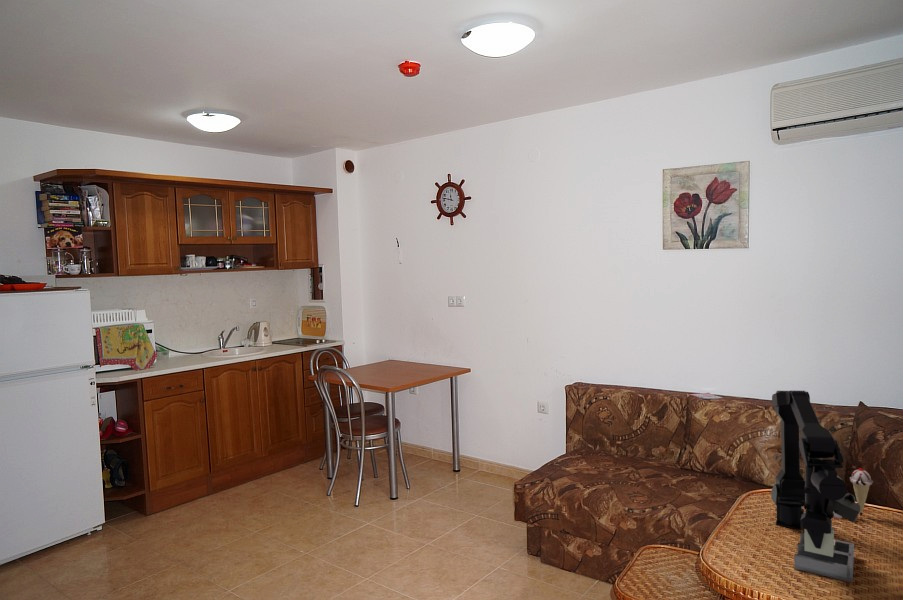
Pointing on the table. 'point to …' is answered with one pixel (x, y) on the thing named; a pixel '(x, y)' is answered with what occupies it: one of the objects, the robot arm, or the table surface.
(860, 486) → the ice cream cone
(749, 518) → the table surface
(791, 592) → the table surface
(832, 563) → the gray compartment tray
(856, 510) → the robot arm
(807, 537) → the pale sage upright block
